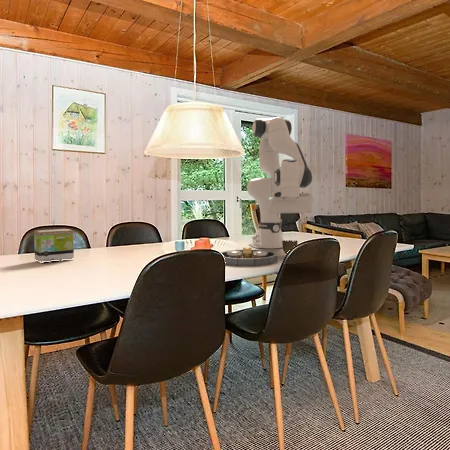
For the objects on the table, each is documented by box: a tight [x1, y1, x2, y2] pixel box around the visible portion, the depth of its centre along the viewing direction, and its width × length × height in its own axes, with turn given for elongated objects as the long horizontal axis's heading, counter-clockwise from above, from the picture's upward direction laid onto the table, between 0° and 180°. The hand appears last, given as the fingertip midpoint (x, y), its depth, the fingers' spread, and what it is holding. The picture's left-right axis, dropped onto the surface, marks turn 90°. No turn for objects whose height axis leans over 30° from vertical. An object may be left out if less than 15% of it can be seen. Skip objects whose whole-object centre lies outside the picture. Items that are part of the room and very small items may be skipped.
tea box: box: [33, 228, 75, 262], centre depth 186 cm, size 15×10×15 cm
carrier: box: [221, 246, 278, 267], centre depth 181 cm, size 27×27×6 cm
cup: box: [282, 239, 299, 254], centre depth 188 cm, size 8×7×8 cm
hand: (290, 222), depth 187 cm, fingers open, 8 cm apart
